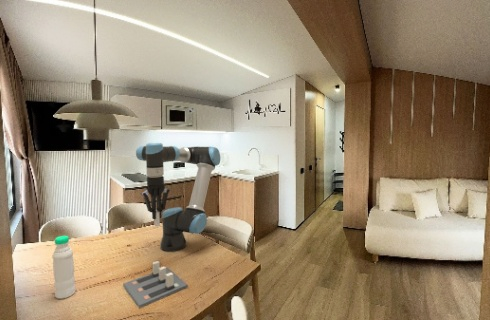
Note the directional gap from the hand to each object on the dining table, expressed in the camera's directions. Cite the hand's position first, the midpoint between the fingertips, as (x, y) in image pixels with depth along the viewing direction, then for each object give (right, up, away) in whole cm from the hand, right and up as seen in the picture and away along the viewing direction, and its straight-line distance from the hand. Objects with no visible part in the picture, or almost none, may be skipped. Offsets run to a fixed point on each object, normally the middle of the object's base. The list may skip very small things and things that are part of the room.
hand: (157, 225), depth 123 cm
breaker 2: (+5, -24, -6) cm, 25 cm away
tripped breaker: (+9, -24, -11) cm, 28 cm away
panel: (+2, -25, -8) cm, 27 cm away
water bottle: (-34, -26, -13) cm, 45 cm away
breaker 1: (0, -23, -1) cm, 23 cm away
